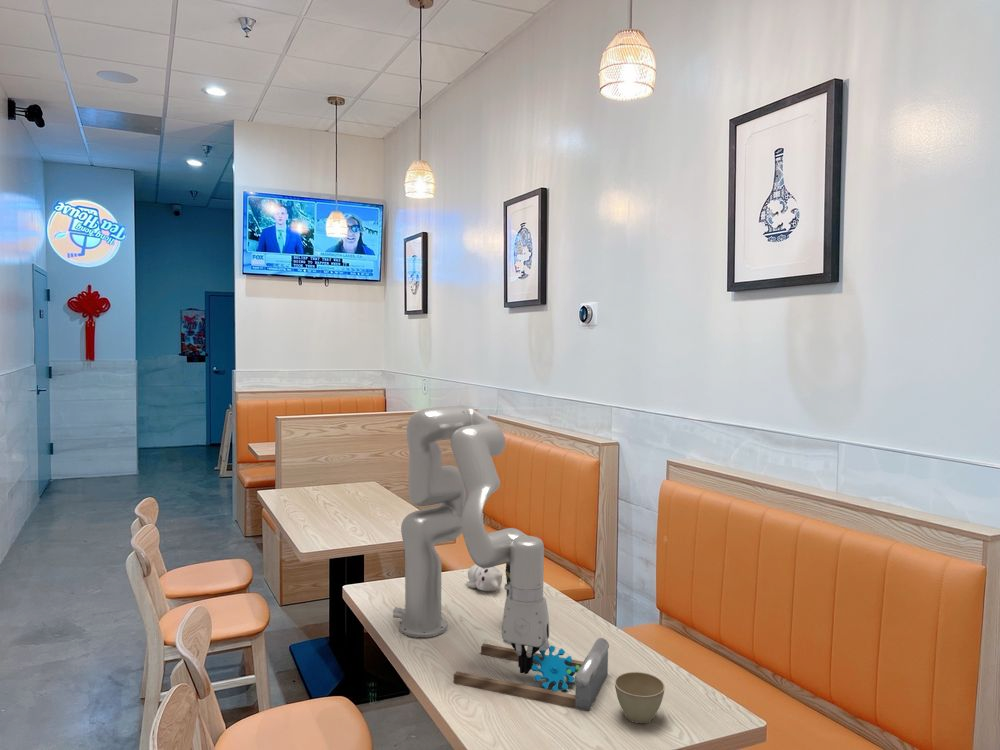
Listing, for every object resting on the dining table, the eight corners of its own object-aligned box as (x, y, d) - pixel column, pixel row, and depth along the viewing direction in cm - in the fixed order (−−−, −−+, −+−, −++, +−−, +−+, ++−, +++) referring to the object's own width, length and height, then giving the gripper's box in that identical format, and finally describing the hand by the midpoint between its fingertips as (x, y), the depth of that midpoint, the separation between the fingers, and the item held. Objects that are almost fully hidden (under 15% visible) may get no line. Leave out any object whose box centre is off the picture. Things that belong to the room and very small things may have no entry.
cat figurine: (468, 552, 221) (496, 559, 209) (486, 562, 225) (515, 569, 213) (456, 582, 218) (484, 590, 206) (475, 591, 222) (504, 599, 210)
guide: (453, 683, 157) (453, 674, 157) (483, 651, 173) (483, 643, 173) (575, 708, 147) (575, 698, 147) (594, 672, 163) (594, 663, 162)
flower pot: (609, 705, 148) (609, 672, 148) (655, 703, 149) (656, 670, 148) (621, 732, 138) (621, 696, 138) (670, 730, 139) (671, 694, 138)
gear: (533, 689, 151) (531, 642, 158) (527, 698, 155) (525, 652, 162) (583, 692, 153) (578, 646, 160) (575, 701, 157) (571, 656, 164)
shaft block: (574, 709, 146) (574, 671, 146) (594, 671, 163) (595, 637, 163) (589, 712, 145) (589, 674, 145) (608, 673, 162) (609, 639, 161)
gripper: (489, 592, 158) (488, 672, 159) (553, 603, 152) (552, 685, 154) (501, 582, 165) (501, 658, 166) (563, 591, 159) (561, 670, 160)
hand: (525, 671), depth 160 cm, fingers closed
